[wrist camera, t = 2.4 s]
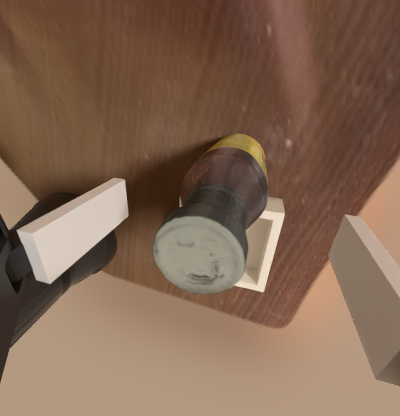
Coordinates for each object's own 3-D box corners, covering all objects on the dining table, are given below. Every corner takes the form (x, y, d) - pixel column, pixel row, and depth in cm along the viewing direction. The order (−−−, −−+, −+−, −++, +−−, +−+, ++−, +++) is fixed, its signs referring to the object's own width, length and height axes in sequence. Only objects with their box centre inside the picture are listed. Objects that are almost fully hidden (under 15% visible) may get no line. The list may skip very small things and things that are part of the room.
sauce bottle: (249, 190, 28) (228, 342, 11) (205, 170, 28) (114, 285, 11) (276, 142, 25) (309, 247, 7) (226, 119, 25) (144, 170, 8)
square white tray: (186, 255, 35) (178, 272, 32) (189, 185, 30) (179, 196, 26) (263, 271, 33) (263, 292, 29) (282, 198, 27) (284, 213, 24)
